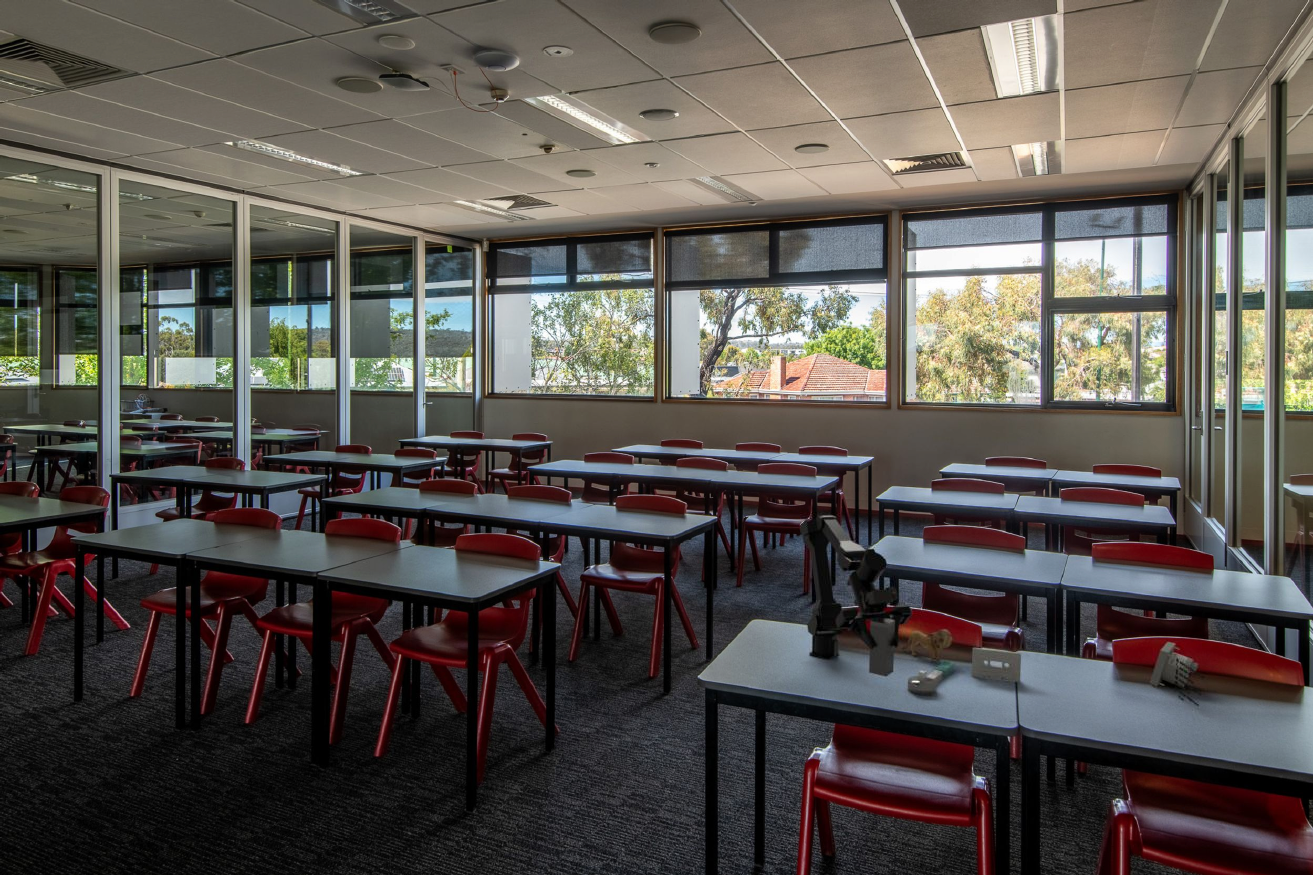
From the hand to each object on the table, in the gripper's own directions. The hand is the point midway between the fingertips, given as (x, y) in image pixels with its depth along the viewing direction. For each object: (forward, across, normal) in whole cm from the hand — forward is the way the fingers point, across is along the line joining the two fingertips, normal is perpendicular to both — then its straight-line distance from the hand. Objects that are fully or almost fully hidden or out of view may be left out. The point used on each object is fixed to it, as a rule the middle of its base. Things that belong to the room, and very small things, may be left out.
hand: (884, 647), depth 203 cm
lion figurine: (-10, +28, +29) cm, 42 cm away
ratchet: (+3, +20, +16) cm, 26 cm away
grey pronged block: (+17, +76, +2) cm, 78 cm away
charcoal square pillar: (+4, 0, +6) cm, 7 cm away
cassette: (+4, +37, +16) cm, 40 cm away
